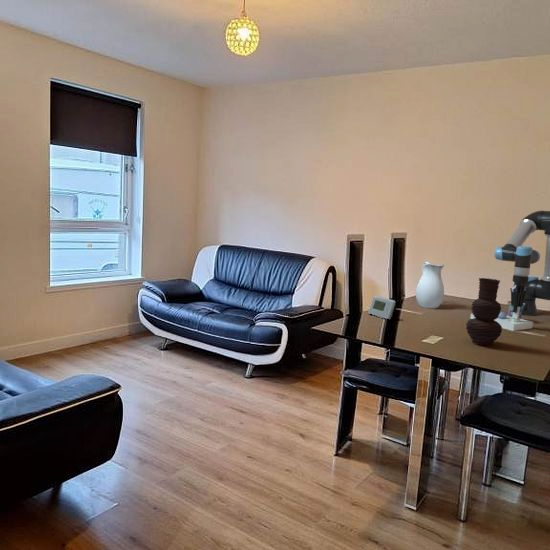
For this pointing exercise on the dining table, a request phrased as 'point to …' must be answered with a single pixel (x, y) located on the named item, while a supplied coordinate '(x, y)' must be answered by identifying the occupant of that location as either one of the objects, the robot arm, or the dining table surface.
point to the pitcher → (430, 286)
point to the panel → (512, 323)
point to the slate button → (502, 315)
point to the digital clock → (382, 307)
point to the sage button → (514, 320)
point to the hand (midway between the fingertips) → (515, 318)
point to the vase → (485, 314)
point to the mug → (512, 309)
